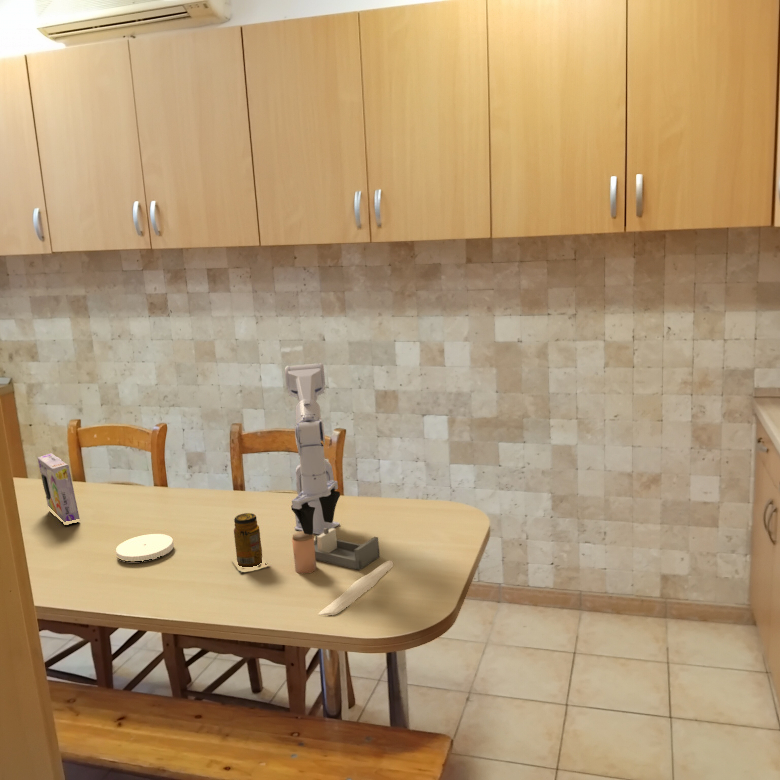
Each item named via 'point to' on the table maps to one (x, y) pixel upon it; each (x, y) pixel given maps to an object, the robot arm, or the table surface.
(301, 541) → the jar
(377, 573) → the spatula
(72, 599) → the table surface
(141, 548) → the plastic lid
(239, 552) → the condiment
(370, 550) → the grey tray
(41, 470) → the cake pan box
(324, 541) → the pusher
